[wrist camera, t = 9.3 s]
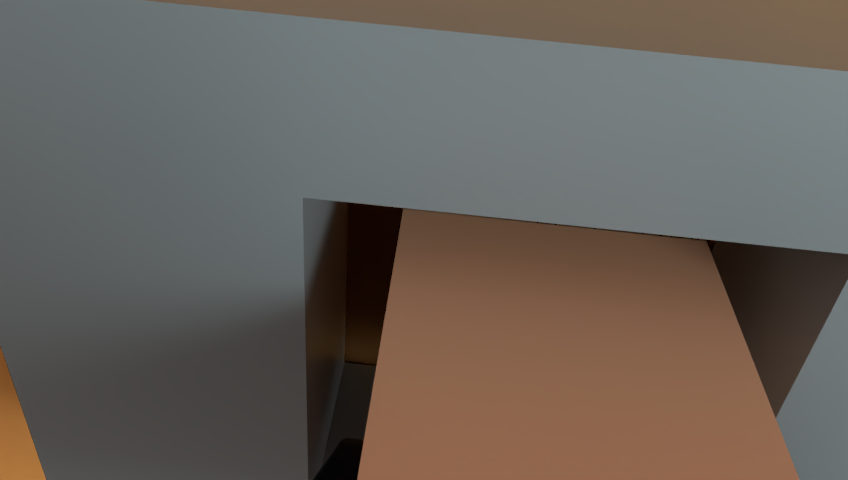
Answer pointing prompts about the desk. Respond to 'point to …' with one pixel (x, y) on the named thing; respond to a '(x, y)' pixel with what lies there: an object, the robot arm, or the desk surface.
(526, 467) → the terracotta peg
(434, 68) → the socket block
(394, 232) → the desk surface
